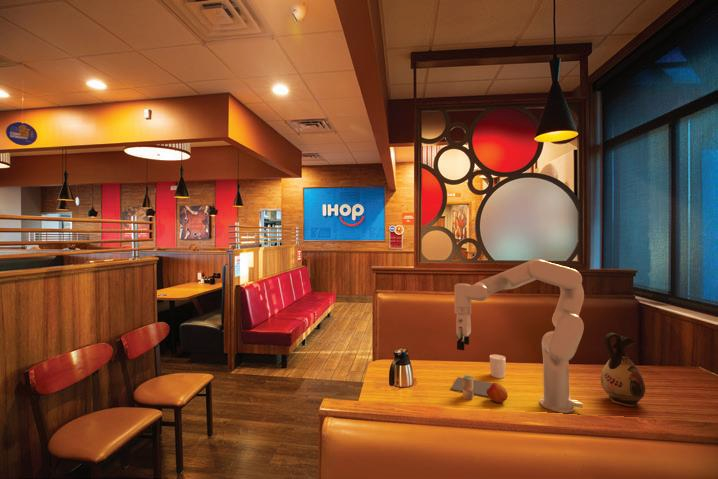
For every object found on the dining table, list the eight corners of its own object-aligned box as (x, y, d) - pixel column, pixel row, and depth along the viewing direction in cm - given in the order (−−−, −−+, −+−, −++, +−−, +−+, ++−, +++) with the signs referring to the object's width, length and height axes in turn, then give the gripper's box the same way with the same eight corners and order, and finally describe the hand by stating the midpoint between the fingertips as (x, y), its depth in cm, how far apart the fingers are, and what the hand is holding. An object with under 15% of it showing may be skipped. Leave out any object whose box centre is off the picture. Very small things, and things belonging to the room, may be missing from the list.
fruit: (494, 395, 153) (493, 378, 153) (510, 402, 147) (510, 384, 147) (484, 400, 148) (483, 382, 149) (501, 407, 142) (500, 388, 142)
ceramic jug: (624, 393, 154) (623, 328, 155) (655, 409, 139) (653, 338, 139) (589, 394, 154) (587, 329, 154) (616, 411, 138) (615, 338, 139)
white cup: (486, 374, 178) (486, 355, 178) (497, 372, 181) (497, 353, 182) (498, 379, 171) (498, 360, 171) (509, 377, 174) (509, 358, 174)
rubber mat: (494, 384, 165) (494, 383, 165) (490, 397, 151) (490, 396, 151) (457, 378, 173) (457, 376, 173) (450, 389, 159) (450, 388, 159)
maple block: (473, 396, 152) (473, 376, 153) (472, 400, 149) (471, 379, 149) (464, 394, 154) (464, 375, 154) (462, 398, 151) (462, 378, 151)
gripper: (467, 314, 146) (467, 353, 145) (475, 307, 161) (475, 343, 160) (449, 312, 149) (450, 350, 149) (459, 306, 164) (459, 341, 164)
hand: (463, 346), depth 155 cm, fingers open, 9 cm apart
